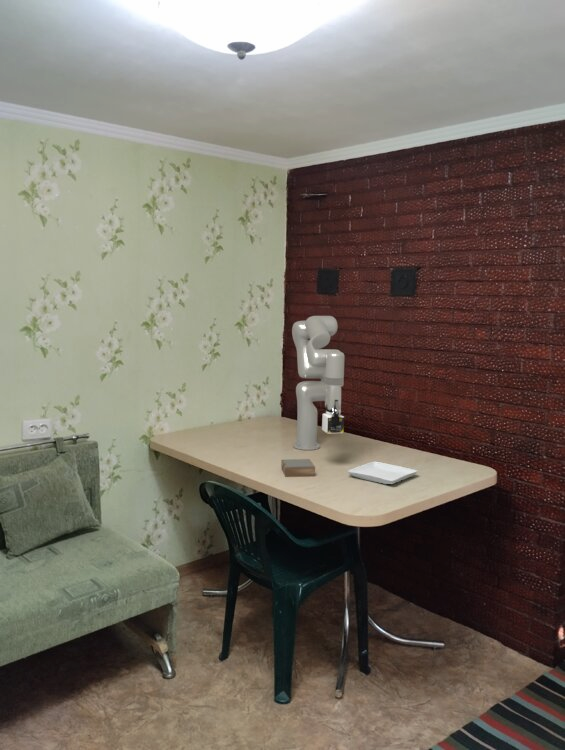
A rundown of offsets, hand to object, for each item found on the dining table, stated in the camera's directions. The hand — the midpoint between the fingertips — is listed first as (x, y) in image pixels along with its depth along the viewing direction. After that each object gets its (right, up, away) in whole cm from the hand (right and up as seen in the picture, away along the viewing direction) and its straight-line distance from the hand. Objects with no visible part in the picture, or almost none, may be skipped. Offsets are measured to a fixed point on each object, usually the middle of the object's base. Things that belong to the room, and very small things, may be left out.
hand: (332, 423), depth 265 cm
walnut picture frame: (-15, -20, -4) cm, 25 cm away
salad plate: (+19, -22, -8) cm, 30 cm away
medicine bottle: (0, -4, 0) cm, 4 cm away
